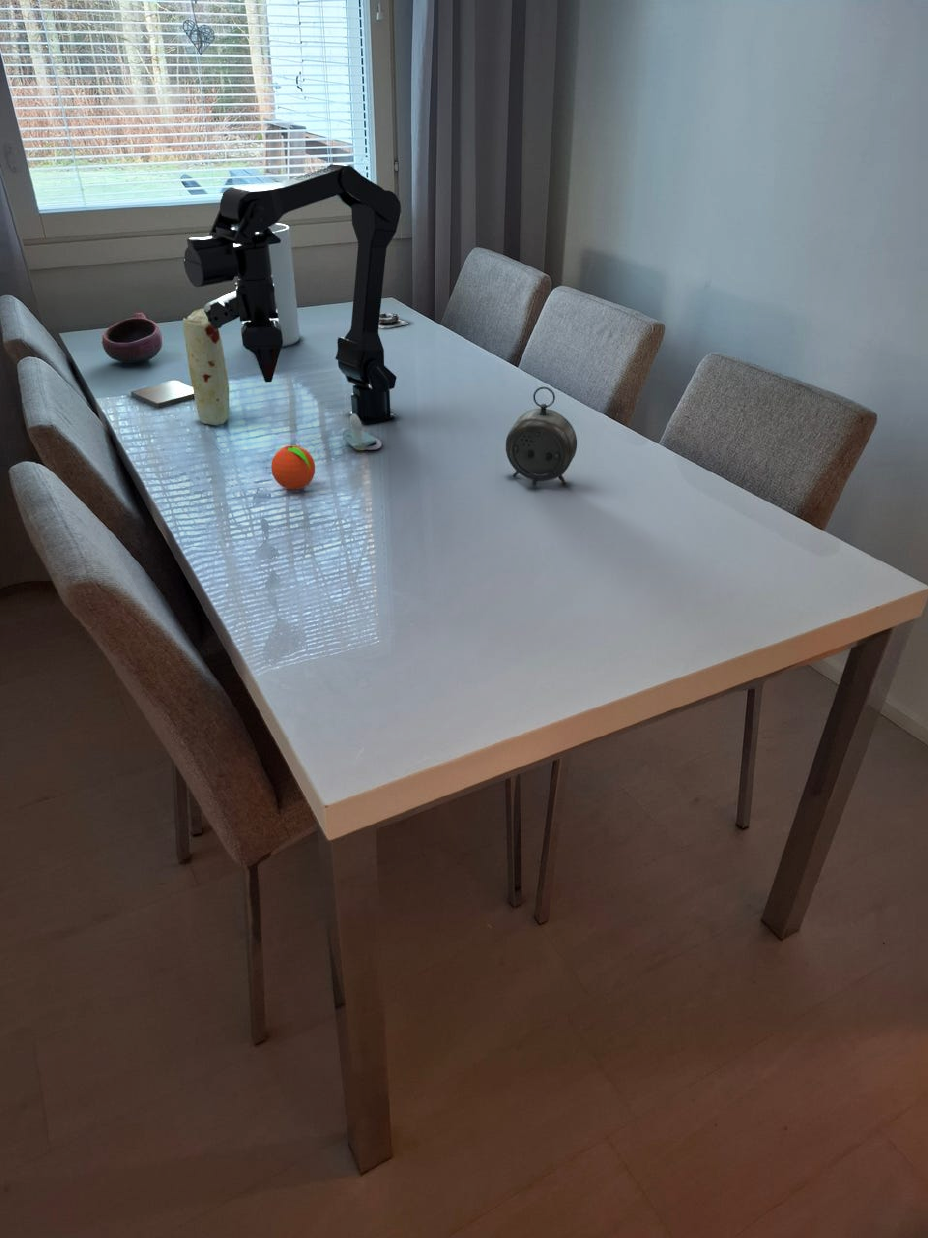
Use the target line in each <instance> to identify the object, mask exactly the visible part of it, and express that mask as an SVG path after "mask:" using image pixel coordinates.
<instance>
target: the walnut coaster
mask: <svg viewBox="0 0 928 1238" xmlns="http://www.w3.org/2000/svg"><path fill="white" fill-rule="evenodd" d="M130 395H131V397H132V398H134V399H136V400H139V401H141V402H143V403H145V404H147V405H150V406H152V407H154V408H156V409H161V408H165V407H168V406H171V405H175V404H178V403H181V402H182V403H183V402H185V401H189V400H192V399H195V397H194V392H193V387H192V386H190V385H188V384H185V383H183V382H180V381H178V380H175V379H173V380H169V381H166V382H162V383H157V384H155V385H150V386H148V387H143V388H139V389H136V390H132V391H130Z"/></svg>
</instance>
